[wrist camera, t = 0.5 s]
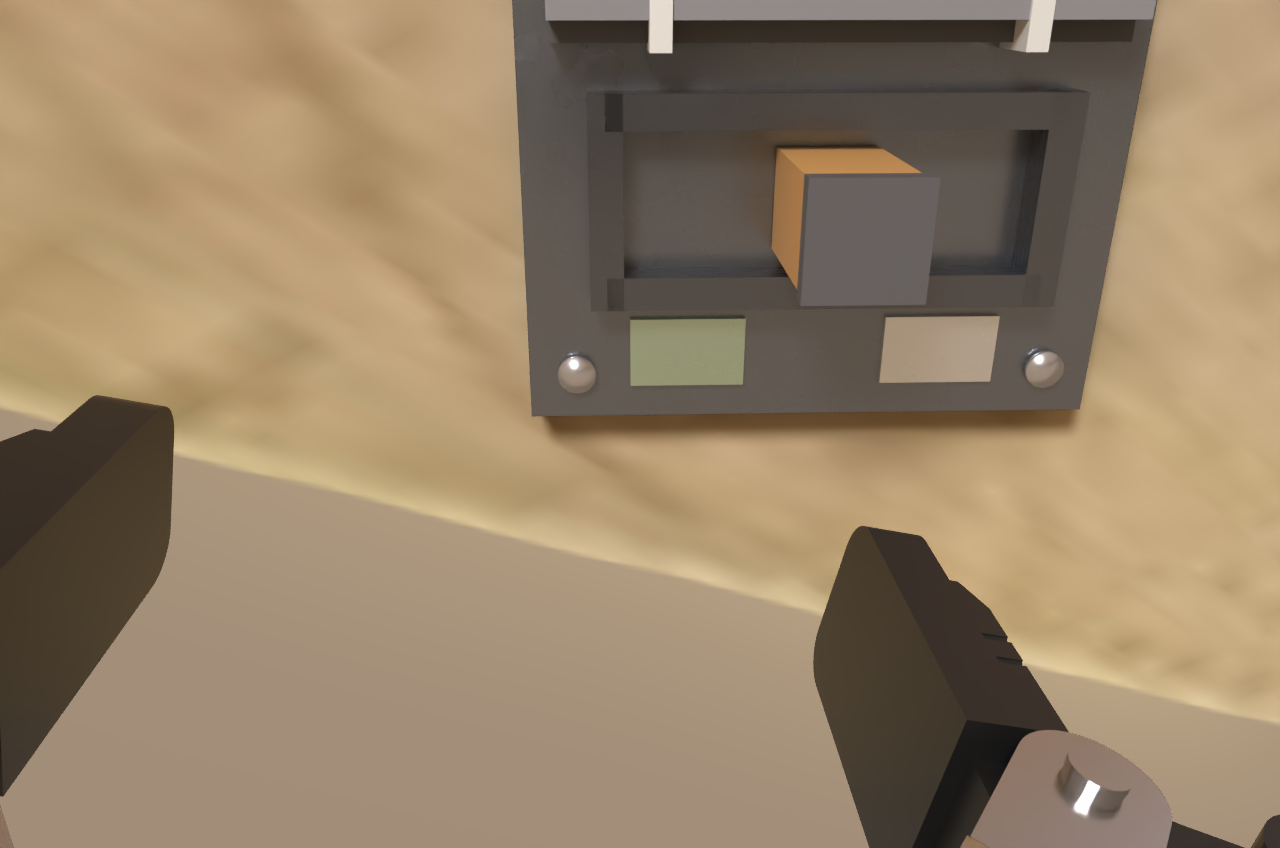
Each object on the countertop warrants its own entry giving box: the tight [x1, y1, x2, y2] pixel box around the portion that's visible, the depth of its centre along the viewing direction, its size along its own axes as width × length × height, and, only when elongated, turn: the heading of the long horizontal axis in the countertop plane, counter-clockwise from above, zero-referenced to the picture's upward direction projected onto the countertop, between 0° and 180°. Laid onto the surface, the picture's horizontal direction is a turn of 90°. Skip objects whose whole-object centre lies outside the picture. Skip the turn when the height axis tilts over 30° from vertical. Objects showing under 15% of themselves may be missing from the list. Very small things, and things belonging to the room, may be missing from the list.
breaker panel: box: [512, 0, 1157, 416], centre depth 30 cm, size 18×14×3 cm
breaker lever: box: [771, 146, 941, 306], centre depth 28 cm, size 3×3×6 cm
